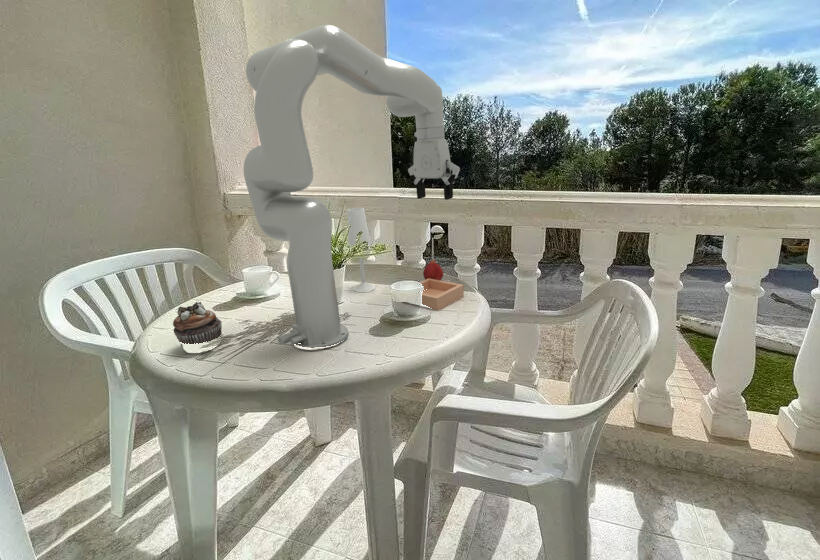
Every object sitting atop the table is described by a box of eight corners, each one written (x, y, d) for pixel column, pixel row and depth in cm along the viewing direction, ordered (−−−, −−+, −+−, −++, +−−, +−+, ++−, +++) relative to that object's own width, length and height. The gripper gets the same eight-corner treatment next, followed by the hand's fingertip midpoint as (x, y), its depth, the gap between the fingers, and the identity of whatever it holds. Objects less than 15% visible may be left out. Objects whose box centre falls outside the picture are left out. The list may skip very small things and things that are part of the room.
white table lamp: (364, 283, 132) (356, 206, 125) (379, 286, 128) (372, 207, 121) (348, 289, 127) (339, 210, 120) (363, 293, 123) (355, 211, 116)
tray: (437, 310, 107) (437, 298, 106) (402, 302, 114) (401, 290, 113) (463, 296, 115) (463, 284, 114) (429, 289, 123) (428, 278, 122)
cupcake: (190, 360, 89) (179, 316, 86) (172, 348, 96) (161, 307, 93) (233, 343, 96) (224, 302, 93) (213, 333, 102) (205, 294, 99)
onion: (422, 288, 124) (420, 262, 122) (426, 282, 129) (425, 256, 127) (441, 288, 122) (440, 262, 120) (445, 282, 128) (444, 257, 125)
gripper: (397, 138, 117) (403, 199, 123) (448, 133, 106) (452, 201, 112) (414, 136, 122) (419, 195, 128) (465, 132, 111) (467, 197, 117)
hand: (434, 198), depth 120 cm, fingers open, 9 cm apart
